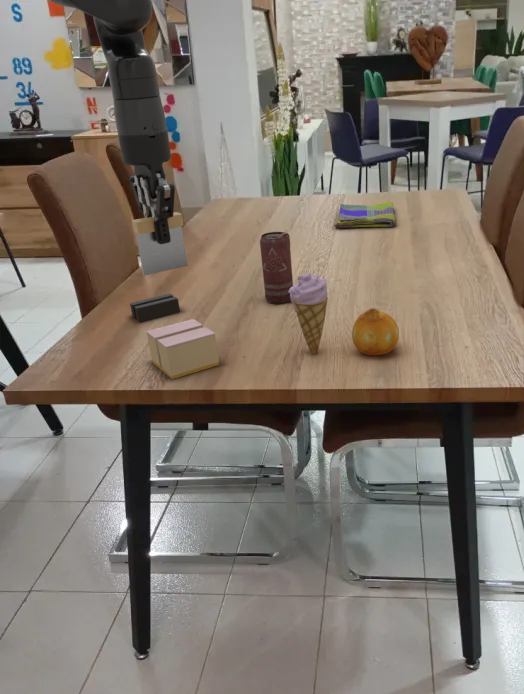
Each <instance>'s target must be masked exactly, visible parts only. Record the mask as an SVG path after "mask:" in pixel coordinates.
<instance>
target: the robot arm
mask: <svg viewBox="0 0 524 694" xmlns="http://www.w3.org/2000/svg"><path fill="white" fill-rule="evenodd" d="M48 1H49V2H51V3H53V4H56V5H59V6H62V7H65V8H73V9H76V10H79V11H80V12H83V13H85V14H87V15H89V16H91V17H93V23H94V26H95V27H94V28H95V30H96V34H97V37H98V40H99V43H100V47H101V49H102V53H103V55H104V58H105V61H106V65H107V71H108V72H107V73H108V79H109V84H110V89H111V94H112V99H113V100H112V101H113V113H114V122H115V126H116V131H117V137H118V142H119V148H120V154H121V159H122V162H123V163H124V164H125V165H127V166H133V167H134V169H133V171H134V175H132V176H129V183H130V186H131V189H132V192H133V195H134V198H135V200H136V203H137V207H138V210H139V212H140V213H143V216H144V218H147V217H152V218H153V220H154V221H153V222H154V228H155V234H156V240H157V243H159V244H165V243H169V242H170V241H171V238H170V232H169V226H168V220H167V219H169V217H173V212H174V211H175V210H174V209H175V192H176V190H175V189H176V187H175V185H174V183H168V179H167V175H166V173H165V169H164V167H163V164H164V163H166V162H169V161H170V160H171V159H172V154H171V146H170V141H169V134H168V127H167V120H166V114H165V110H164V109H165V108H164V105H163V103H162V98H161V92H160V85H159V80H158V73H157V67H156V64H155V60H154V59H153V57H152V56H151V55H150V54H149V52H148V50H147V48H146V47H147V46H146V43H145V38H144V33H143V29H145V28H146V27H147V26H148V24H149V23H150V22H151V19H152V16H153V1H152V0H48Z"/></svg>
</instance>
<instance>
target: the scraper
mask: <svg viewBox="0 0 524 694" xmlns="http://www.w3.org/2000/svg"><path fill="white" fill-rule="evenodd" d="M167 220H168V226H169V232H170V238H171V241H170V242H169V243H165V244H159V243H157V240H156V234H155V228H154V222H153V221H154V220H153V218H152V217H147V218H145V217H142V218H136V219H132V220H131V224H132V225H131V226H132V231H133V233H134V234H135V237H136V238H135V239H136V243H137V248H138V254H139V258H140V259H139V260H140V264H141V270H142V275H143V276H144V277H145V276H149V275H153V274H158V273H162V272H166V271H167V272H168V271H172V270H175V269H180V268H184V267H188V265H189V264H188V260H187V252H186V251H187V250H186V245H185V239H184V233H183V227H184V220H183V214H182V213H180V212H178V211H175V212H174V211H173V217H169V219H167Z"/></svg>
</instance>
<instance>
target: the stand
mask: <svg viewBox="0 0 524 694" xmlns="http://www.w3.org/2000/svg"><path fill="white" fill-rule="evenodd" d="M129 306H130V311H131V316H132V318H133V319H136V321H137V322H138V323H142V322H146V321H151V320H155V319H157V318H162V317H165V316H169V315H173V314H178V313H180V312H181V308H180V303H179V298H178V297H177V296H174V295H173V294H172V293H167V294H162V295H159V296H154V297H150V298H146V299H141V300H138V301H134V302H133V301H132V302H129Z"/></svg>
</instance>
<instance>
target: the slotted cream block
mask: <svg viewBox="0 0 524 694" xmlns="http://www.w3.org/2000/svg"><path fill="white" fill-rule="evenodd" d="M146 336H147V342H148V346H149V352H150V357H151V362H152V364H154V365H155V366H156V367H157V368H158V369H159V370H160V371H161V372H163V373H164V374H165V375H166V376H167V377H169V378H170V379H171V380H175V379H178V378H181V377H184V376H187V375H191V374H195V373H198V372H201V371H204V370H207V369H210V368H214V367H217V366H220V359H219V353H218V352H219V351H218V345H217V337H216V333H215V332H214V331H213V330H212V329H210V328H208V327H207V326H203V324H202V323H200V322H199V321H197V320H196V319H194V318H191V319H188V320H184V321H180V322H176V323H172V324H170V325H165V326H161V327H157V328H153V329H149V330H147V331H146Z"/></svg>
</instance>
